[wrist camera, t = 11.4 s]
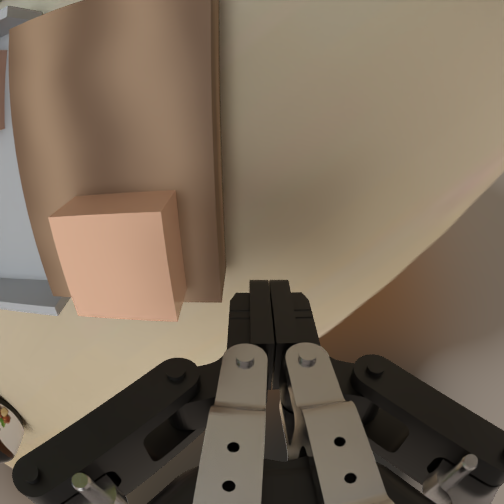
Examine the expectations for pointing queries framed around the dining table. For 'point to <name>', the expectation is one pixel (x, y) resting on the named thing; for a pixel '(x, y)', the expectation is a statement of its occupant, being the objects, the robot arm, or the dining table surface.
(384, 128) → the dining table surface
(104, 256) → the tile
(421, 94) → the dining table surface
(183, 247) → the brown slab
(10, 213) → the box
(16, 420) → the spread jar
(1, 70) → the tile
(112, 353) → the dining table surface
